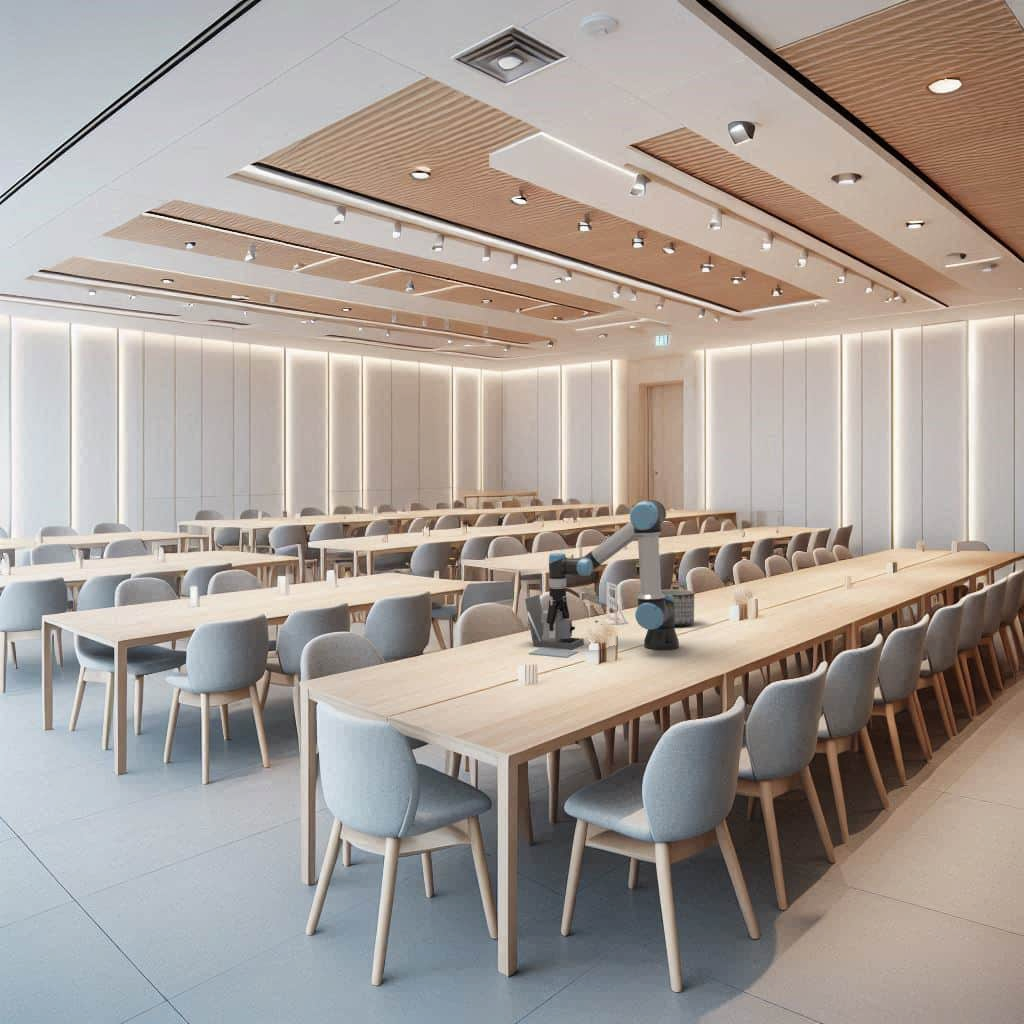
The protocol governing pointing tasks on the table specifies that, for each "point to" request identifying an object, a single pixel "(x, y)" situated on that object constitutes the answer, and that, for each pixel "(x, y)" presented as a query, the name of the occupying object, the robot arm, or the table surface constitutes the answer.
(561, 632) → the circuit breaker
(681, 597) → the planter
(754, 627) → the table surface
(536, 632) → the case
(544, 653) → the mat
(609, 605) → the film strip holder
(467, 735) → the table surface
